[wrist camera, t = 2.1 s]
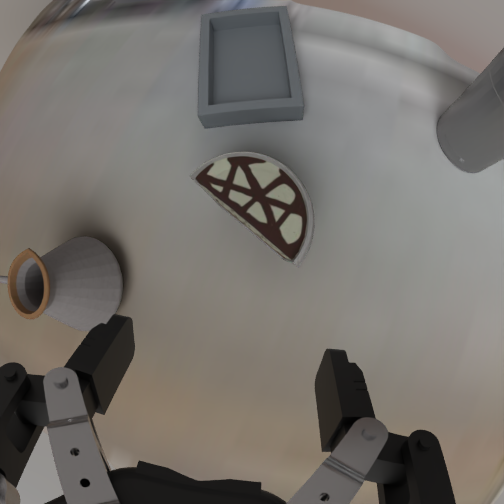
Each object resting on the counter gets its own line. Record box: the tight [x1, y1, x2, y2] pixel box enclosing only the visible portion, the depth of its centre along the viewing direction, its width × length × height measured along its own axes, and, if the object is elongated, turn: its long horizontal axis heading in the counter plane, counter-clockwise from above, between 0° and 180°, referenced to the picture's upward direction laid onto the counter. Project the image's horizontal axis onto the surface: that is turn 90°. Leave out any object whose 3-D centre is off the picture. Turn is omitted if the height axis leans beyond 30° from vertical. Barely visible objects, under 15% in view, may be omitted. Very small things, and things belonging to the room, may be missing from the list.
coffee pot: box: [0, 236, 123, 331], centre depth 30 cm, size 21×12×15 cm, turn 87°
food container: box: [190, 151, 314, 267], centre depth 30 cm, size 12×6×10 cm, turn 49°
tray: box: [198, 6, 304, 128], centre depth 35 cm, size 12×18×4 cm, turn 3°
